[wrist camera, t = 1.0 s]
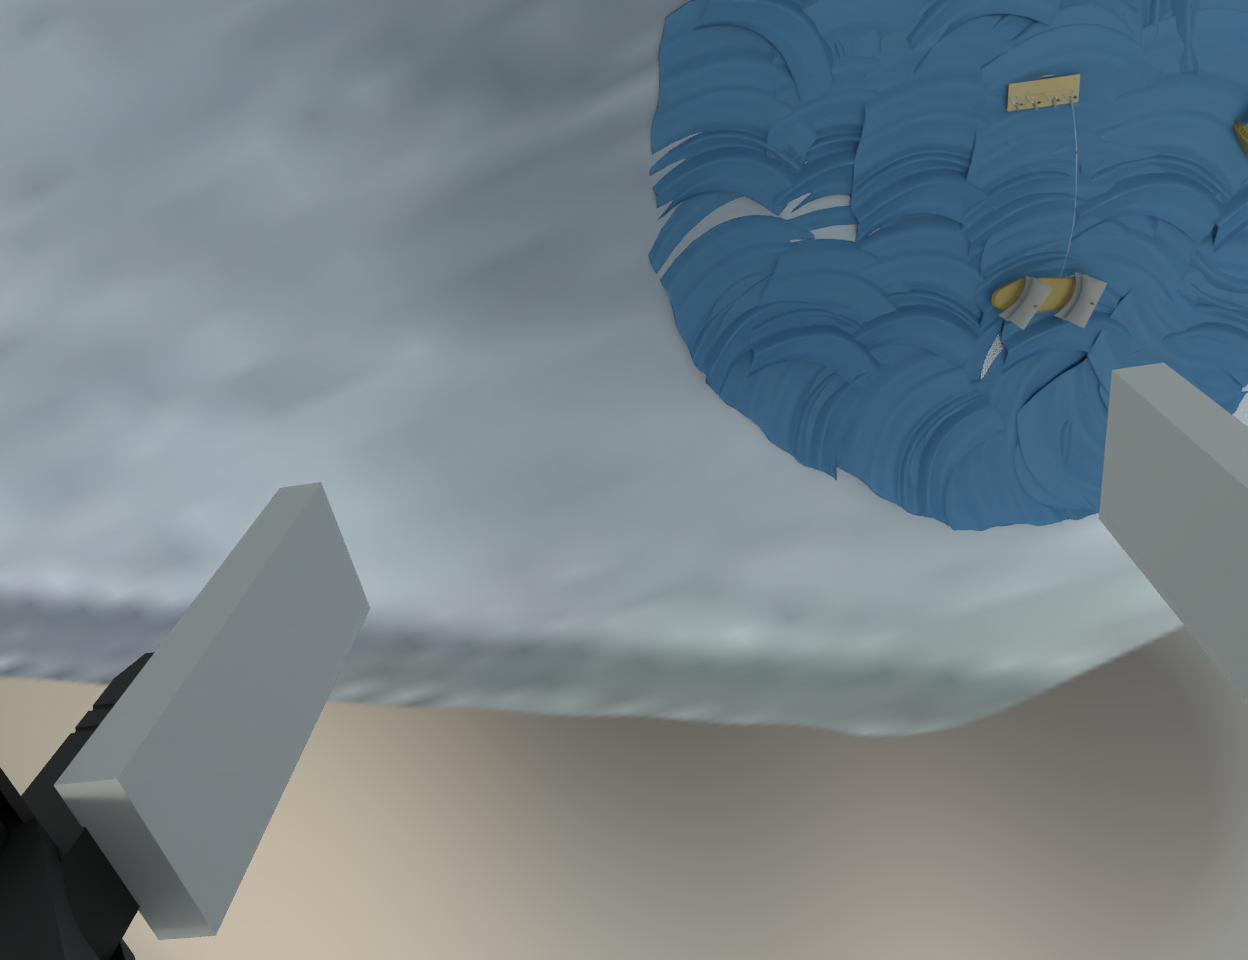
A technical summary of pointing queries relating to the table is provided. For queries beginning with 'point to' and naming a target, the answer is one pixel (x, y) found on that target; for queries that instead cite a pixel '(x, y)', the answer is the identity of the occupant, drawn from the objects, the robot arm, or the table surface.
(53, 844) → the robot arm
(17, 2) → the table surface
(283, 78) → the table surface
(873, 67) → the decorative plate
